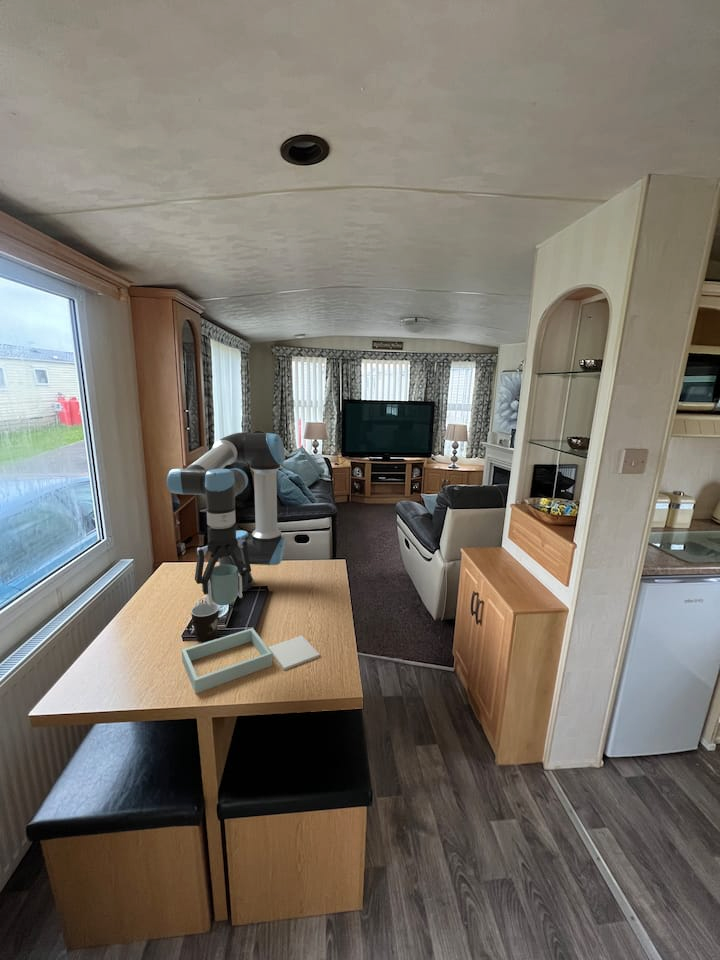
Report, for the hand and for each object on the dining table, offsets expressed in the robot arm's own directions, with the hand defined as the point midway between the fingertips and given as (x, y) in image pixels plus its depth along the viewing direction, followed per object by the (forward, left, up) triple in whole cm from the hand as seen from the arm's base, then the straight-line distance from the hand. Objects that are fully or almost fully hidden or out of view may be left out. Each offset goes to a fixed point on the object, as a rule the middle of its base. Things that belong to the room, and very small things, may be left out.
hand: (224, 599), depth 118 cm
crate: (0, 0, -21) cm, 21 cm away
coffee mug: (-17, -3, -21) cm, 27 cm away
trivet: (+6, +19, -21) cm, 29 cm away
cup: (0, 0, -1) cm, 1 cm away
